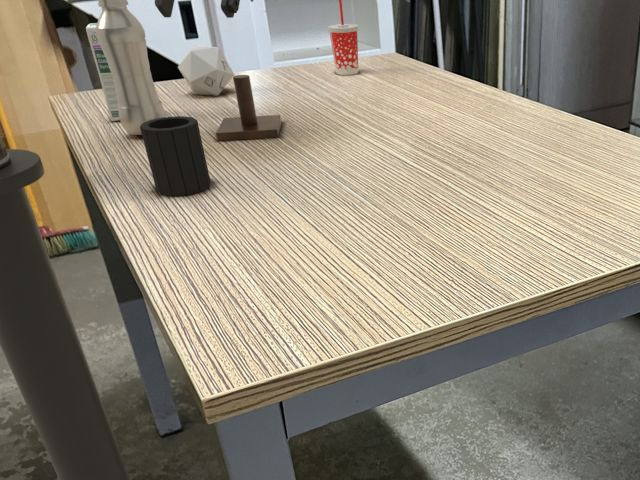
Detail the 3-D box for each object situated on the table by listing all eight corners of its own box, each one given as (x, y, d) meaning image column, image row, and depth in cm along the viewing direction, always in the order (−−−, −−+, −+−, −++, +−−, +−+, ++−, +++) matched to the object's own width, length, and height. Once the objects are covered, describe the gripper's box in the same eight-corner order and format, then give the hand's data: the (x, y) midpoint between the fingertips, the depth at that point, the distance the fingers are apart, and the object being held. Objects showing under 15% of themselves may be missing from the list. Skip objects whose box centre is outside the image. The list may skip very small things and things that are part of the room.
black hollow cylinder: (152, 197, 86) (134, 131, 82) (162, 180, 92) (146, 117, 87) (206, 194, 87) (192, 128, 83) (213, 177, 92) (200, 114, 88)
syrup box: (110, 122, 117) (83, 26, 109) (116, 113, 122) (91, 21, 114) (147, 119, 118) (123, 24, 110) (151, 111, 123) (129, 19, 115)
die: (195, 105, 129) (221, 56, 125) (161, 75, 130) (185, 27, 127) (225, 111, 137) (249, 66, 133) (192, 83, 138) (216, 38, 134)
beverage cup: (366, 73, 147) (360, -2, 139) (339, 77, 144) (331, 1, 137) (355, 68, 151) (348, -4, 144) (328, 71, 149) (320, -2, 141)
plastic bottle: (177, 132, 111) (144, -10, 100) (136, 142, 107) (96, -5, 96) (157, 125, 114) (123, -13, 104) (116, 134, 110) (76, -8, 99)
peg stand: (217, 141, 107) (206, 84, 102) (224, 125, 114) (214, 71, 110) (278, 137, 108) (269, 81, 103) (281, 122, 115) (273, 69, 111)
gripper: (149, -119, 90) (125, -8, 86) (256, -122, 88) (235, -8, 84) (180, -72, 97) (158, 32, 94) (278, -74, 95) (260, 33, 92)
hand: (195, 13), depth 89 cm, fingers open, 8 cm apart
